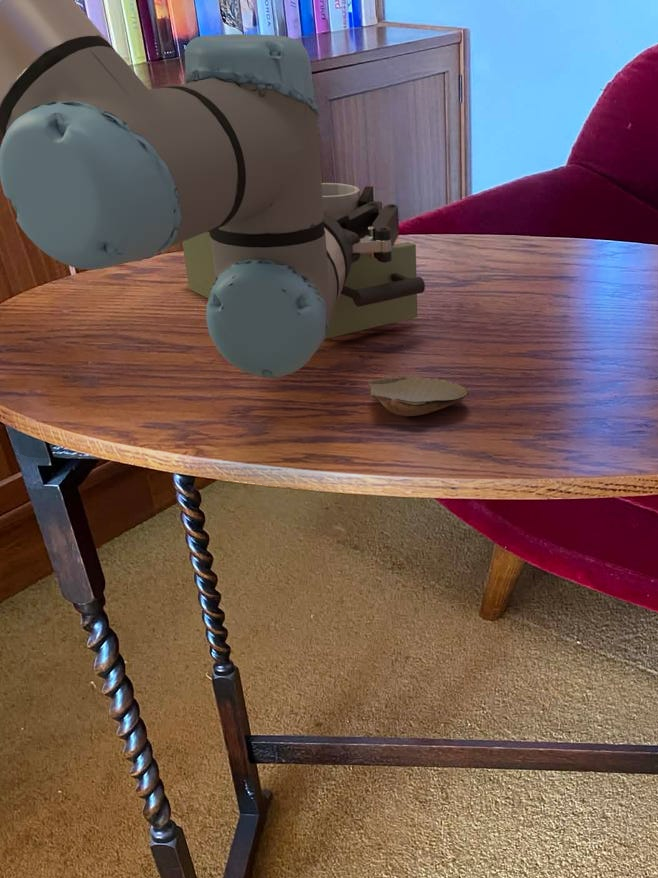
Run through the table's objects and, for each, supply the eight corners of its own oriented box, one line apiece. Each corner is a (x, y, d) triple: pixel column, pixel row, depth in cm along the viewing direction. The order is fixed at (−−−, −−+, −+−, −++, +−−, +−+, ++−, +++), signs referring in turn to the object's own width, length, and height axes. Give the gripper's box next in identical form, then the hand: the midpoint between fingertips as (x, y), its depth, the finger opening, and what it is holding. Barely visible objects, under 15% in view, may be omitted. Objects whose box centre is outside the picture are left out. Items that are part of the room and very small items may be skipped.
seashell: (474, 423, 79) (396, 382, 81) (485, 389, 78) (405, 348, 80) (422, 443, 73) (339, 398, 75) (434, 406, 71) (348, 361, 73)
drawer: (444, 328, 91) (444, 253, 87) (343, 353, 85) (337, 274, 81) (341, 285, 102) (336, 217, 98) (244, 305, 96) (235, 233, 92)
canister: (289, 278, 92) (280, 188, 88) (341, 268, 96) (336, 180, 91) (323, 292, 89) (315, 199, 84) (376, 281, 92) (372, 191, 87)
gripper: (182, 312, 76) (241, 240, 95) (422, 316, 76) (433, 243, 95) (165, 211, 72) (230, 156, 90) (420, 215, 72) (432, 159, 91)
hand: (334, 201), depth 93 cm, fingers closed on canister, 6 cm apart
